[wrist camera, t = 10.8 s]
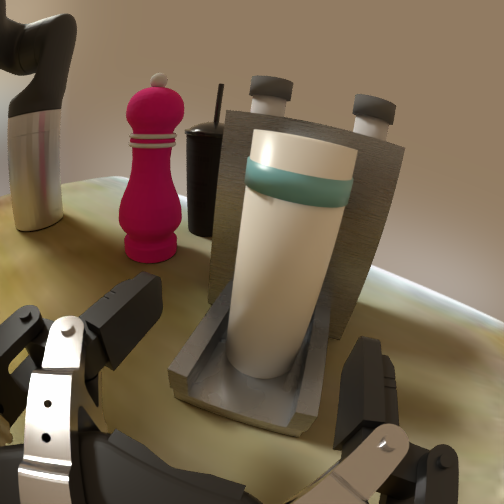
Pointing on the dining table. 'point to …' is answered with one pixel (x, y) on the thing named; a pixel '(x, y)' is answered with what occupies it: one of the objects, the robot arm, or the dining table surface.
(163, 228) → the pepper mill
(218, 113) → the drinking cup
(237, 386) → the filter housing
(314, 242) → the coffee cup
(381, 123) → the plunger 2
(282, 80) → the plunger
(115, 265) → the dining table surface
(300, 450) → the dining table surface
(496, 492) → the dining table surface
